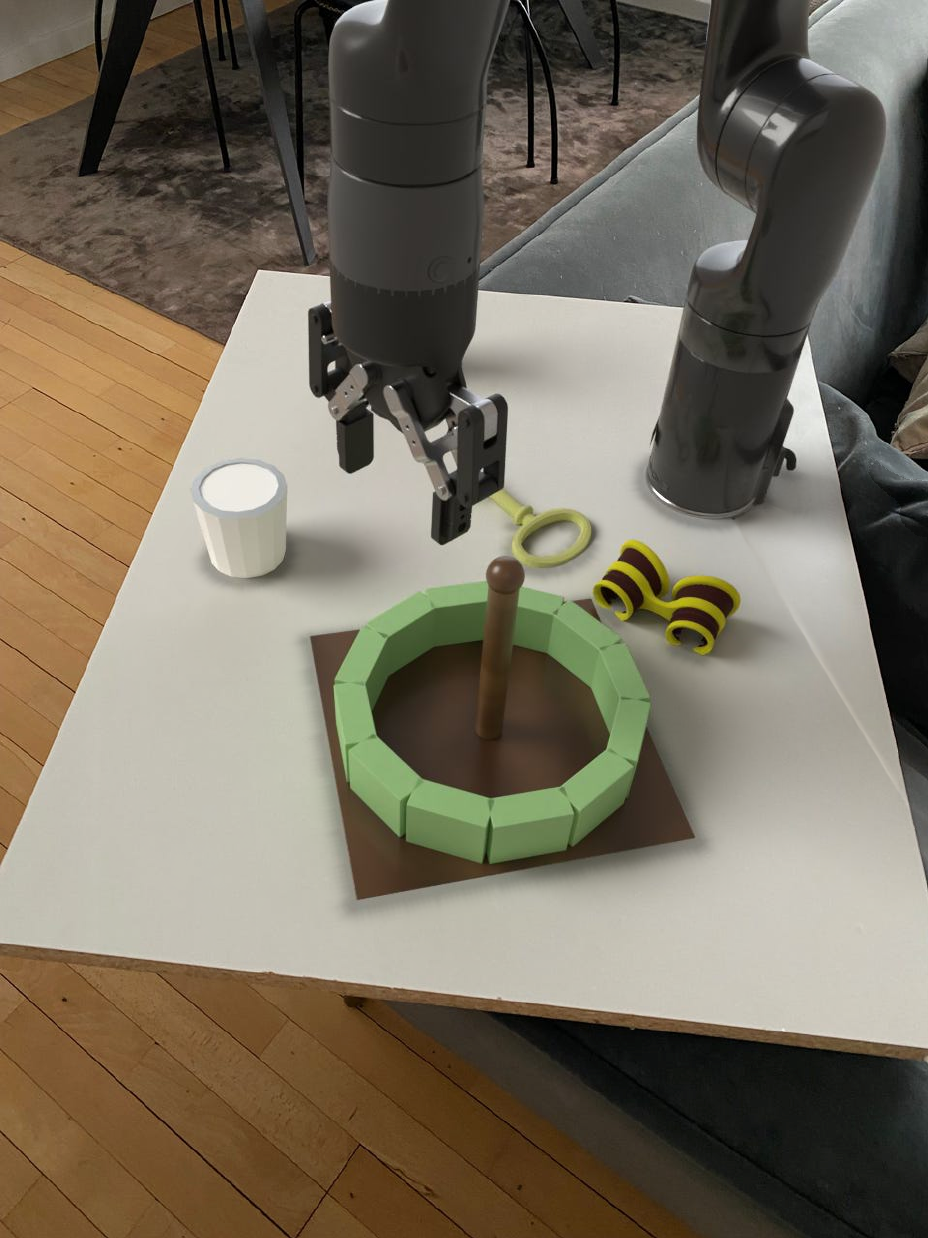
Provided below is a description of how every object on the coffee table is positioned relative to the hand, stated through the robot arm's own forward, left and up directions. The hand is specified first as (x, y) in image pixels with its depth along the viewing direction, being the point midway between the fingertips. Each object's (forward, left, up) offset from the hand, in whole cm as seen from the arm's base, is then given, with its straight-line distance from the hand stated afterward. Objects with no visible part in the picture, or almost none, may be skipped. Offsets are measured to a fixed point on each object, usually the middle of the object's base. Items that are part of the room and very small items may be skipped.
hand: (400, 500), depth 63 cm
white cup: (+9, -12, -15) cm, 21 cm away
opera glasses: (-20, 0, -15) cm, 24 cm away
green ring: (-5, +8, -14) cm, 17 cm away
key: (-12, -12, -15) cm, 23 cm away
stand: (-5, +8, -15) cm, 17 cm away
